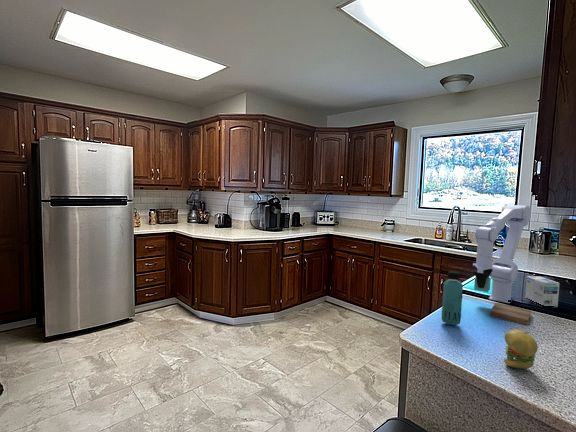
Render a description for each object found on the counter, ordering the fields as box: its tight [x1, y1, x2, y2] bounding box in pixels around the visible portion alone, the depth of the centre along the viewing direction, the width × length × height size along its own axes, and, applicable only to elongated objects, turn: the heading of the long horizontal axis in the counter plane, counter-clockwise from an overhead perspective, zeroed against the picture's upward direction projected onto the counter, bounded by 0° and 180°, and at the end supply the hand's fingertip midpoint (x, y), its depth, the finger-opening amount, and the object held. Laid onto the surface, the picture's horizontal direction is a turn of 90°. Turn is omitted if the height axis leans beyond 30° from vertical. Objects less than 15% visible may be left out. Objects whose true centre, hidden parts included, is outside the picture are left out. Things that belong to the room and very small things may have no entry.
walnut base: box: [489, 302, 532, 326], centre depth 125 cm, size 12×12×2 cm
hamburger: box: [503, 329, 539, 369], centre depth 88 cm, size 8×7×12 cm
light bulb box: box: [525, 275, 561, 308], centre depth 141 cm, size 11×7×11 cm, turn 179°
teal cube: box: [473, 277, 492, 293], centre depth 136 cm, size 5×5×5 cm
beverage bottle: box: [441, 270, 464, 326], centre depth 115 cm, size 6×7×20 cm
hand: (482, 286), depth 136 cm, fingers closed on teal cube, 5 cm apart
